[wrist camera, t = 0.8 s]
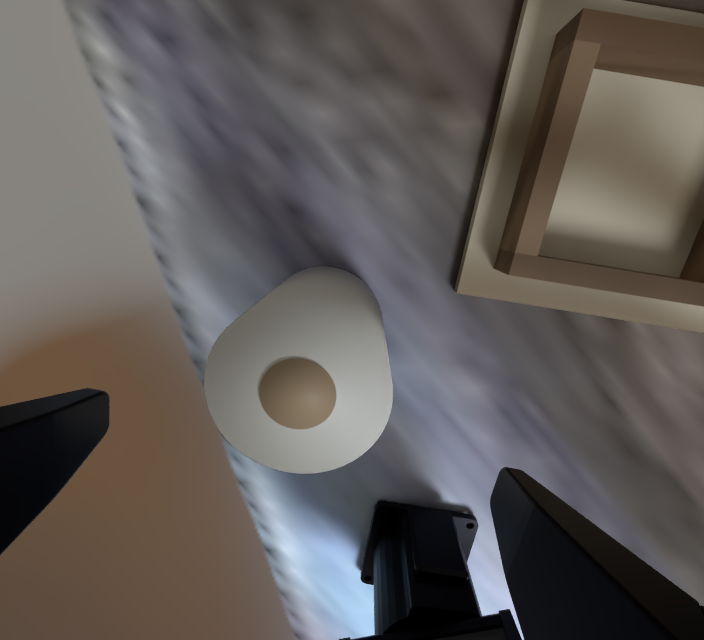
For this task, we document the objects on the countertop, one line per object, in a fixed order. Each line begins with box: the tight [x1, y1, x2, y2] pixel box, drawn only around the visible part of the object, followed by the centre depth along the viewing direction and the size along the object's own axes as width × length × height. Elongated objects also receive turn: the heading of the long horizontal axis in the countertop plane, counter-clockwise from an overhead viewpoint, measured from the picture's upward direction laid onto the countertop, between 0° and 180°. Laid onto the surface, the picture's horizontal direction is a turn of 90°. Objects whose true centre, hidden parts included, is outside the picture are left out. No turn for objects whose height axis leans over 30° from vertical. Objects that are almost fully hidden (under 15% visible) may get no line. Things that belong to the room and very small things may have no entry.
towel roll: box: [204, 266, 393, 474], centre depth 16 cm, size 6×6×8 cm
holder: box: [454, 0, 704, 333], centre depth 16 cm, size 13×13×3 cm
